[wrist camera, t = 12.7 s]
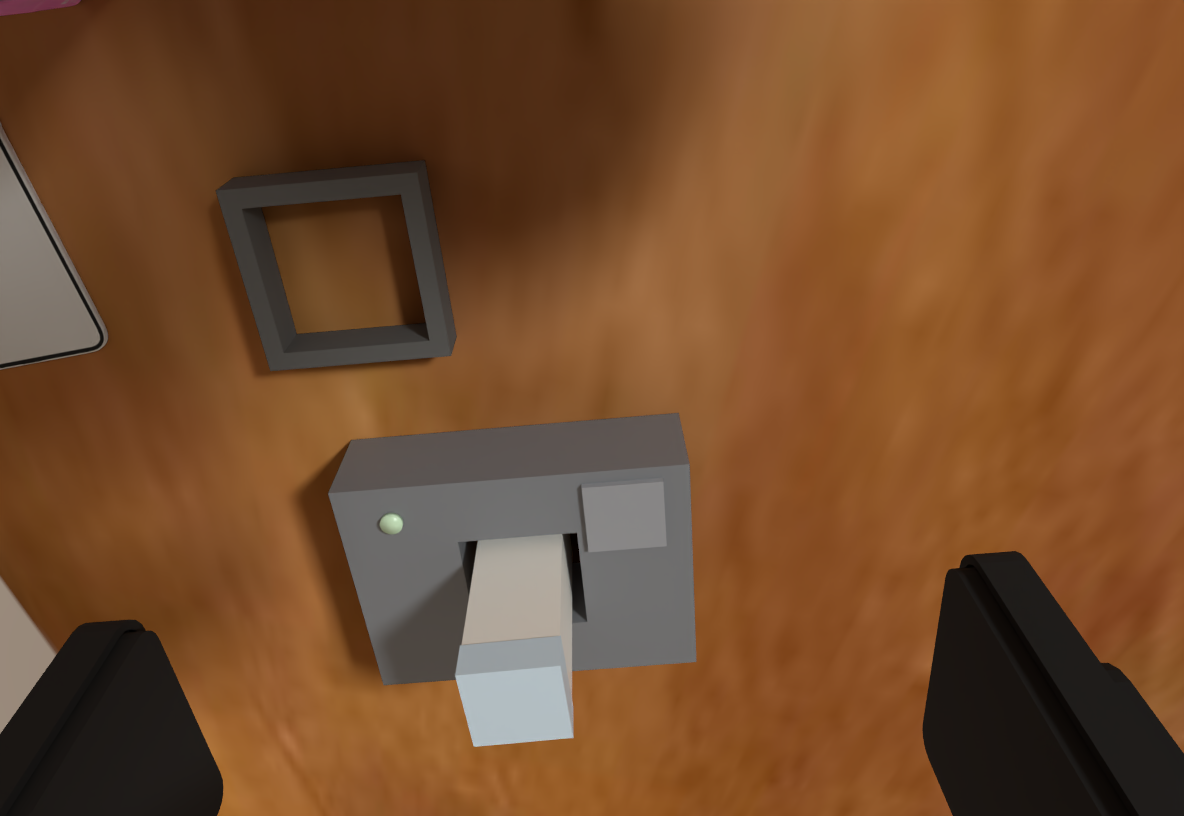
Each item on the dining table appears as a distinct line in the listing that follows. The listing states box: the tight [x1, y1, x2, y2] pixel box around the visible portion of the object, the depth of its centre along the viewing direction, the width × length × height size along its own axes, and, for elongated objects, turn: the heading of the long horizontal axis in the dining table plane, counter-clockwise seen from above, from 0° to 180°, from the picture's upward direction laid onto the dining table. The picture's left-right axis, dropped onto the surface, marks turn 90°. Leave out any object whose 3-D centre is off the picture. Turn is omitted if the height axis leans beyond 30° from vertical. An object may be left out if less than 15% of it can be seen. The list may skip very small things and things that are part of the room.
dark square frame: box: [216, 160, 456, 371], centre depth 36 cm, size 8×8×2 cm
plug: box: [455, 533, 573, 747], centre depth 39 cm, size 4×4×12 cm
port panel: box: [328, 413, 696, 685], centre depth 42 cm, size 16×12×5 cm
